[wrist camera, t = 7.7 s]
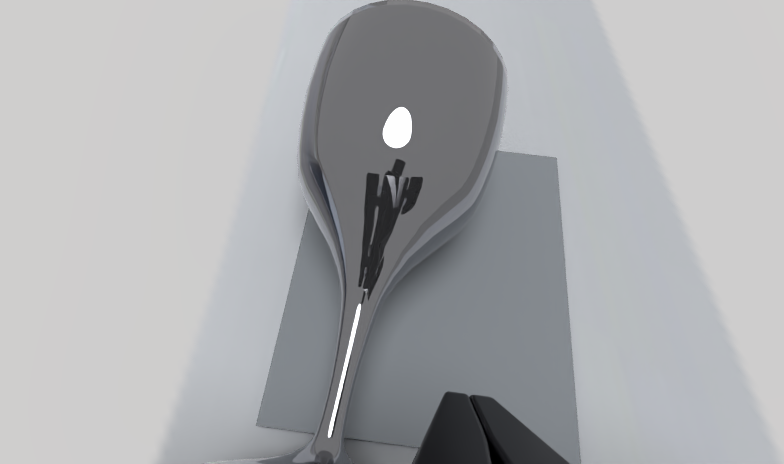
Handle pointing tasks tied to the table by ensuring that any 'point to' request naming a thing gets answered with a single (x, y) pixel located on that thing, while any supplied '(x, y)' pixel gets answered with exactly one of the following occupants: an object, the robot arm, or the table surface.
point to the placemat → (444, 324)
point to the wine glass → (391, 166)
